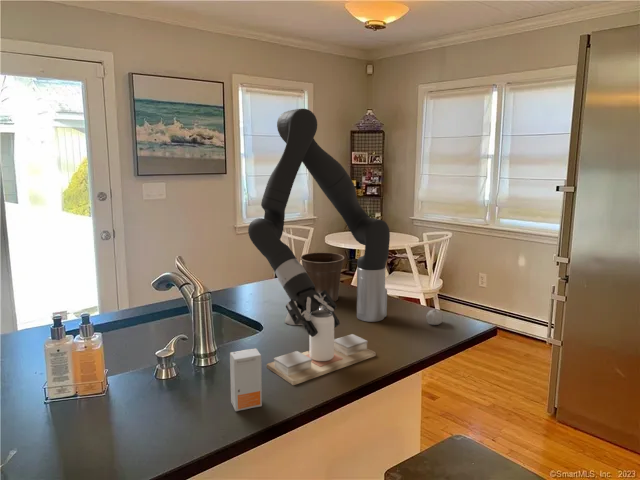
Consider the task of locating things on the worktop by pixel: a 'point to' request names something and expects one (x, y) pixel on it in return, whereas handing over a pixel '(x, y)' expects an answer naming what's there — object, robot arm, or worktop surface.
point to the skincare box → (246, 379)
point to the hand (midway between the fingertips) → (326, 330)
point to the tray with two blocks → (304, 368)
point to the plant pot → (324, 271)
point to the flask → (290, 319)
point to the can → (322, 336)
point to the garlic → (434, 317)
